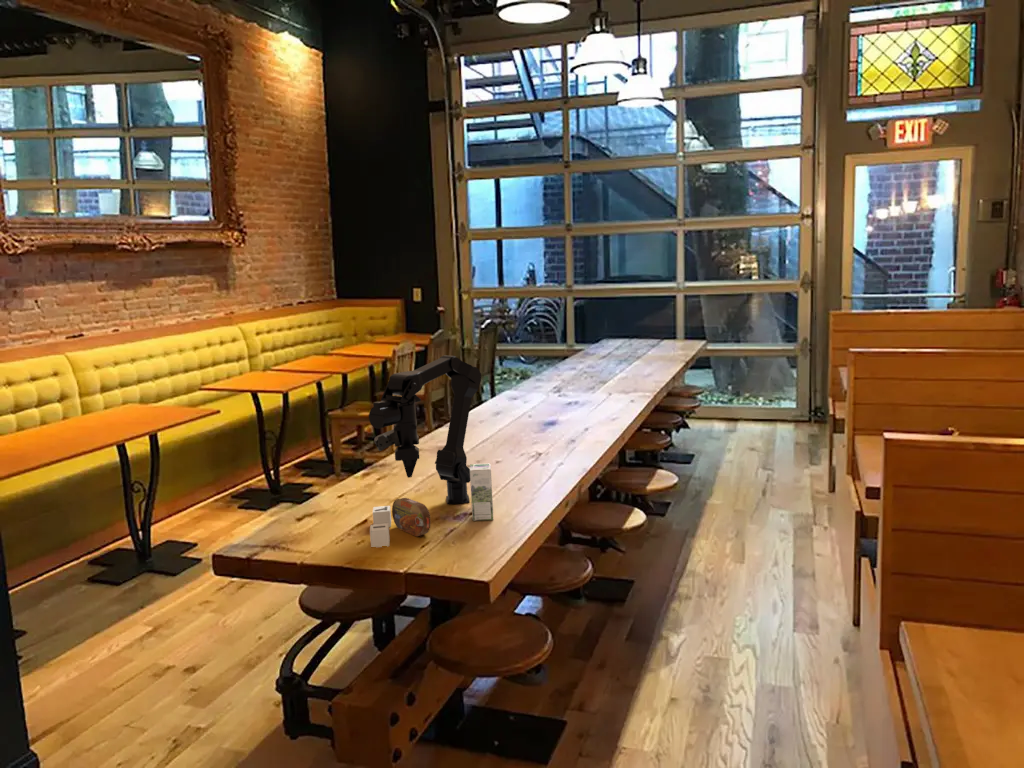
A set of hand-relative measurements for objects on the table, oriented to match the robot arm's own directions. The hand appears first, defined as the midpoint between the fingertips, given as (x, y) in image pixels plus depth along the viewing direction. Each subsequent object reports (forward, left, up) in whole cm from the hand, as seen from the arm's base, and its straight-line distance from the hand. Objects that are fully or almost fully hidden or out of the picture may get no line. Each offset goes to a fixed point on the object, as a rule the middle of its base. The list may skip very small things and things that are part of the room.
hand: (409, 477), depth 223 cm
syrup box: (+3, +19, -12) cm, 23 cm away
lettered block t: (+2, -8, -12) cm, 15 cm away
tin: (+9, 0, -12) cm, 15 cm away
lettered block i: (+16, -8, -12) cm, 22 cm away
